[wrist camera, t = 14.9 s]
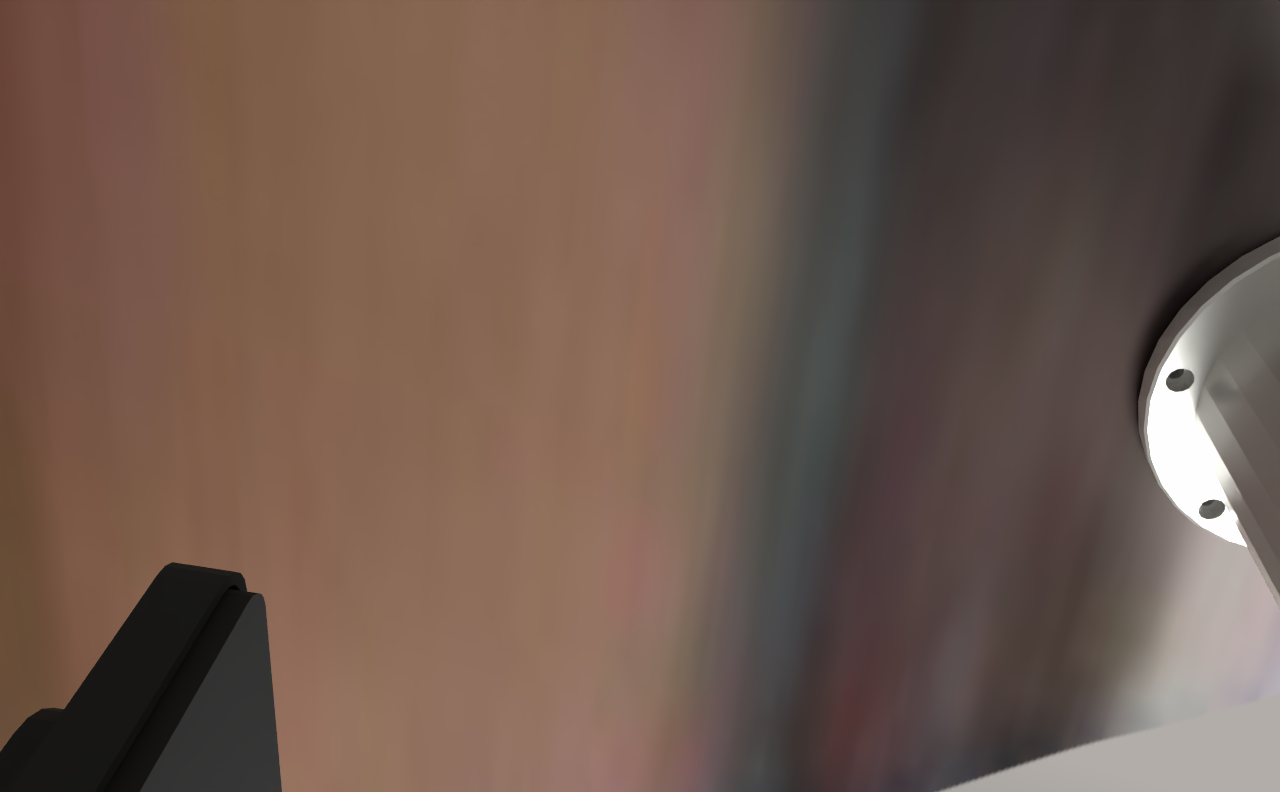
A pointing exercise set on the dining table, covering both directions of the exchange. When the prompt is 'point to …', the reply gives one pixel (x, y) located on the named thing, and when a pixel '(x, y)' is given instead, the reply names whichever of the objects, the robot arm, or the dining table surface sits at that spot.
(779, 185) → the dining table surface
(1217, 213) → the dining table surface
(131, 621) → the robot arm
